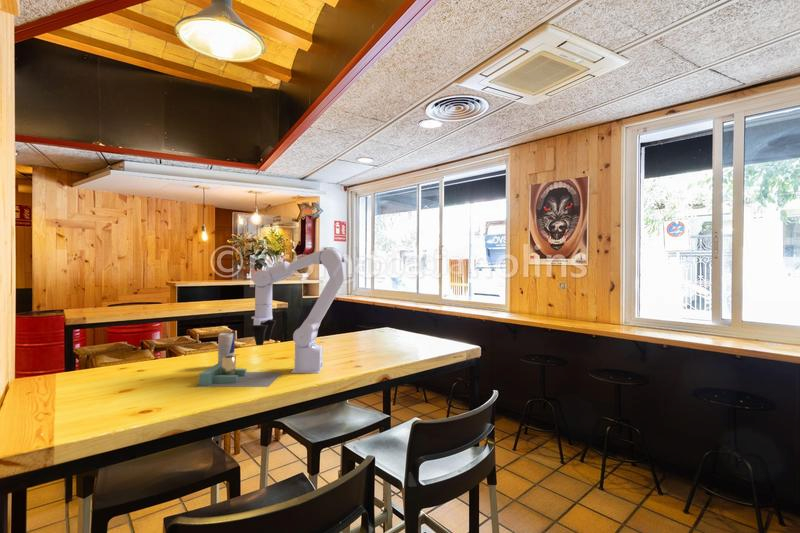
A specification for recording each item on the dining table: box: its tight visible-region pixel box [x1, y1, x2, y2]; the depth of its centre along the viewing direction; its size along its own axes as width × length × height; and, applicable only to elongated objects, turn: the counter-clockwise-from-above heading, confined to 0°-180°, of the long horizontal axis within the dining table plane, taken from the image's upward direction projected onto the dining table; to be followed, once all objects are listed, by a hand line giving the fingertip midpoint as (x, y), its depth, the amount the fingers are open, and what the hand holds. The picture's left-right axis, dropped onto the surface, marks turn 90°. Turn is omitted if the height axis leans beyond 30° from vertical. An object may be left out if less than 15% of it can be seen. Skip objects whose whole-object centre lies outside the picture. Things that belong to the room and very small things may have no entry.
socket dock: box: [198, 362, 248, 386], centre depth 124 cm, size 10×14×4 cm
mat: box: [194, 371, 283, 388], centre depth 124 cm, size 22×16×1 cm
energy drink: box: [217, 332, 236, 364], centre depth 139 cm, size 5×5×12 cm
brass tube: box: [222, 355, 237, 375], centre depth 124 cm, size 4×4×7 cm
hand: (263, 342), depth 136 cm, fingers open, 7 cm apart
